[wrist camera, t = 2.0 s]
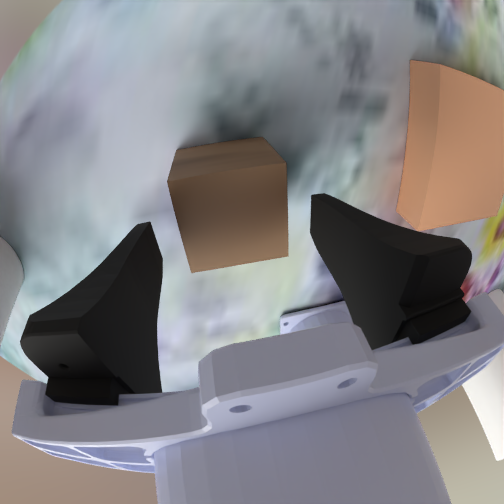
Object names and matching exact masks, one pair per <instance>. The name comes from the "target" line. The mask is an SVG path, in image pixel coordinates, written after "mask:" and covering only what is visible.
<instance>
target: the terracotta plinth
mask: <svg viewBox="0 0 504 504" xmlns="http://www.w3.org/2000/svg"><path fill="white" fill-rule="evenodd" d="M503 194H504V90H502V89H500V88H498V87H496V86H494V85H492V84H490V83H487V82H485V81H483V80H481V79H478V78H476V77H474V76H471V75H469V74H466V73H464V72H461V71H458V70H456V69H453V68H450V67H447V66H444V65H441V64H436V63H430V62H423V61H414V60H410V101H409V119H408V131H407V142H406V151H405V159H404V167H403V174H402V180H401V186H400V192H399V198H398V203H397V209H396V211H397V212H398V213H399V214H400V215H401V216H402V217H403V218H404V219H405V220H406V221H407V222H408V223H409V224H410V225H411V226H412V227H413V228H414V229H415V230H416V231H422V230H428V229H433V228H438V227H443V226H448V225H453V224H458V223H463V222H468V221H473V220H478V219H483V218H488V217H493V216H497V213H498V210H499V207H500V204H501V201H502V198H503Z"/></svg>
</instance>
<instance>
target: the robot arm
mask: <svg viewBox="0 0 504 504" xmlns="http://www.w3.org/2000/svg"><path fill="white" fill-rule="evenodd" d="M310 234H311V236H312V239H313V241H314V244H315V246H316V248H317V250H318V252H319V254H320V256H321V257H322V259H323V261H324V262H325V264H326V266H327V268H328V269H329V271H330V273H331V274H332V276H333V278H334V280H335V281H336V283H337V285H338V287H339V289H340V291H341V293H342V295H343V298H344V300H345V301H342V302H337V303H333V304H329V305H325V306H321V307H316V308H312V309H307V310H303V311H298V312H294V313H289V314H284V315H282V316H281V317H280V335H277V336H272V337H267V338H262V339H256V340H251V341H246V342H240V343H234V344H231V345H227V346H224V347H221V348H218V349H215V350H213V351H211V352H210V353H209V354H208V355H207V356H205V357H204V358H203V359H202V360H201V361H199V364H198V377H199V387H197V388H193V389H190V390H186V391H178V392H165V393H162V387H161V380H160V371H159V361H158V345H157V317H158V309H159V300H160V293H161V285H162V277H163V258H162V255H161V252H160V249H159V246H158V243H157V240H156V237H155V234H154V231H153V228H152V225H151V222H146V223H141V224H137V225H136V226H135V227H134V228H133V229H132V230H131V231H130V232H129V233H128V234H127V236H126V237H125V238H124V239H123V240H122V241H121V242H120V243H119V245H118V246H117V247H116V248H115V249H114V250H113V251H112V252H111V253H110V254H109V255H108V256H107V257H106V259H105V260H104V261H103V262H102V263H101V264H100V265H99V266H98V267H97V268H96V269H95V270H94V271H92V272H91V273H90V274H89V275H88V276H87V277H86V278H85V279H83V280H82V281H81V282H80V283H78V284H77V285H76V286H75V287H73V288H72V289H71V290H70V291H68V292H67V293H66V294H64V295H63V296H61V297H60V298H58V299H57V300H55V301H54V302H52V303H51V304H49V305H47V306H46V307H44V308H42V309H40V310H39V311H37V312H35V313H33V314H32V315H30V316H29V318H28V321H27V324H26V326H25V329H24V332H23V334H22V337H21V340H20V344H21V347H22V349H23V351H24V353H25V355H26V356H27V357H28V358H29V359H30V360H31V361H32V362H33V363H34V364H35V365H36V366H37V367H38V368H39V369H40V370H41V371H42V372H43V373H44V374H46V375H47V376H48V377H49V378H48V382H47V384H46V383H43V382H40V381H31V380H22V382H21V386H20V390H19V395H18V399H17V405H16V409H15V415H14V421H13V427H12V434H13V436H15V437H17V438H19V439H21V440H22V441H24V442H26V443H28V444H30V445H32V446H34V447H35V448H38V449H40V450H42V451H44V452H46V453H48V454H50V455H52V456H56V457H60V458H64V459H68V460H73V461H77V462H82V463H87V464H92V465H97V466H103V467H108V468H114V469H121V470H128V471H137V472H147V473H155V478H156V489H157V499H158V504H451V502H450V498H449V495H448V492H447V489H446V486H445V484H444V481H443V478H442V475H441V472H440V470H439V467H438V464H437V462H436V459H435V456H434V454H433V451H432V449H431V446H430V444H429V441H428V439H427V437H426V434H425V432H424V430H423V427H422V425H421V422H420V420H419V418H418V416H417V413H418V412H420V411H421V410H423V409H425V408H427V407H428V406H430V405H432V404H433V403H435V402H436V401H438V400H440V399H441V398H443V397H444V396H446V395H447V394H449V393H450V392H452V391H453V390H454V389H456V388H458V387H459V386H461V385H462V384H463V383H465V382H466V381H468V380H469V379H471V378H472V377H473V376H475V375H476V374H478V373H479V372H480V371H482V370H483V369H484V368H486V367H487V366H488V365H489V364H490V363H491V361H492V360H493V359H494V358H495V357H496V356H497V355H498V354H499V353H500V351H501V350H502V349H503V348H504V315H503V314H502V313H501V311H500V310H499V309H498V307H497V306H496V305H495V303H494V302H493V301H492V299H491V298H490V297H489V296H488V294H487V293H486V292H483V293H481V294H479V295H477V296H475V297H473V298H471V299H470V300H469V301H468V302H467V303H465V302H464V301H463V299H462V298H463V297H464V292H463V291H462V290H461V289H460V287H461V285H462V283H463V281H464V279H465V277H466V275H467V273H468V271H469V268H470V266H471V261H472V253H471V251H470V249H469V248H468V247H467V246H466V245H465V244H464V243H463V242H462V241H461V240H460V239H457V238H450V237H443V236H436V235H432V234H427V233H422V232H418V231H414V230H411V229H407V228H404V227H401V226H398V225H395V224H392V223H389V222H387V221H384V220H381V219H379V218H376V217H374V216H372V215H370V214H368V213H365V212H363V211H361V210H359V209H357V208H355V207H353V206H351V205H349V204H347V203H345V202H343V201H341V200H339V199H337V198H334V197H332V196H330V195H327V194H324V193H322V194H314V195H311V224H310Z"/></svg>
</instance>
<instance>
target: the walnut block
mask: <svg viewBox="0 0 504 504" xmlns="http://www.w3.org/2000/svg"><path fill="white" fill-rule="evenodd" d="M167 183H168V187H169V192H170V196H171V200H172V204H173V208H174V212H175V216H176V219H177V223H178V227H179V231H180V234H181V238H182V242H183V245H184V249H185V252H186V256H187V259H188V263H189V266H190V270H191V273H195V272H200V271H206V270H212V269H218V268H224V267H230V266H235V265H241V264H247V263H253V262H258V261H264V260H270V259H275V258H281V257H287V256H288V198H287V166H286V162H285V161H284V160H283V159H282V157H281V156H280V155H279V154H278V153H277V152H276V151H275V150H274V149H273V147H272V146H271V145H270V144H269V143H268V142H267V141H266V140H265V139H264V138H263V137H256V138H248V139H240V140H233V141H226V142H219V143H213V144H207V145H201V146H195V147H190V148H184V149H179V150H176V153H175V156H174V160H173V163H172V166H171V170H170V173H169V177H168V180H167Z"/></svg>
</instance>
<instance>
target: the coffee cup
mask: <svg viewBox="0 0 504 504" xmlns="http://www.w3.org/2000/svg"><path fill="white" fill-rule="evenodd" d="M23 280H24V272H23V268H22V264H21V262H20V260H19V258H18V256H17V254H16V253H15V251H14V250H13V248H12V247H11V246H10V245H9V244H8V243H7V242H6V241H5V240H4V239H3V238H2V237H0V347H1V343H2V340H3V336H4V333H5V330H6V326H7V323H8V320H9V317H10V315H11V312H12V309H13V306H14V304H15V301H16V298H17V296H18V293H19V291H20V288H21V286H22V283H23Z"/></svg>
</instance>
